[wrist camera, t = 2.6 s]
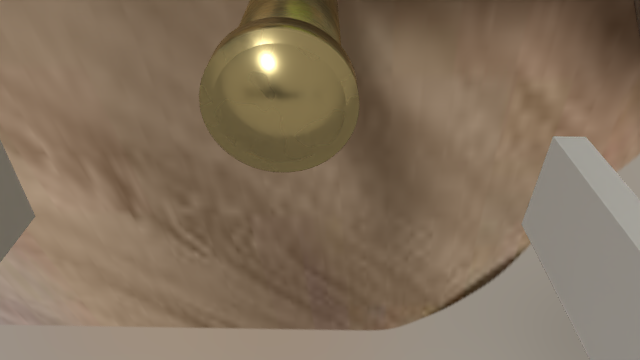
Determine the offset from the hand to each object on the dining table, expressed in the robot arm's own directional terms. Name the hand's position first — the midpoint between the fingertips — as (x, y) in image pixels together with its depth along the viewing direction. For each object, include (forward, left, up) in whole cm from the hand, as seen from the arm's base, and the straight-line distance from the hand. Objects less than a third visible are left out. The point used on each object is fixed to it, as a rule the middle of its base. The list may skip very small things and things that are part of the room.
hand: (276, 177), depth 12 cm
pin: (0, 0, -19) cm, 19 cm away
